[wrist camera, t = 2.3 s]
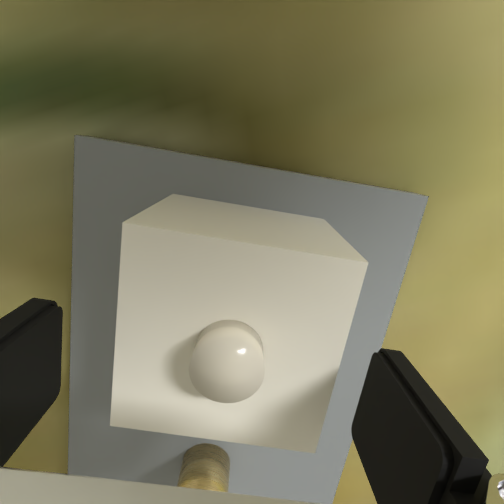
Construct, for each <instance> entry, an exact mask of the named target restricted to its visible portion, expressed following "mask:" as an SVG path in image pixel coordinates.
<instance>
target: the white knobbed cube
mask: <svg viewBox="0 0 504 504" xmlns="http://www.w3.org/2000/svg"><path fill="white" fill-rule="evenodd" d="M368 263H369V262H368V261H367V260H365V259H364V258H363V257H362V256H361V255H360V254H359V253H358V252H357V251H356V250H355V249H354V248H353V247H352V246H351V245H350V244H349V243H348V242H347V241H346V240H345V239H344V238H343V237H342V236H341V235H340V234H339V233H338V232H337V231H336V230H335V229H334V228H333V227H332V226H331V225H330V224H329V223H328V222H327V221H326V220H324V219H321V218H315V217H309V216H303V215H297V214H291V213H285V212H279V211H273V210H267V209H261V208H255V207H249V206H244V205H238V204H232V203H226V202H220V201H214V200H208V199H202V198H196V197H190V196H184V195H178V194H172V195H170V196H168V197H166V198H165V199H163V200H161V201H159V202H158V203H156V204H154V205H152V206H151V207H149V208H147V209H145V210H143V211H142V212H140V213H138V214H136V215H135V216H133V217H131V218H129V219H128V220H126V221H124V222H122V238H121V254H120V271H119V287H118V303H117V319H116V335H115V351H114V367H113V383H112V399H111V415H110V426H115V427H122V428H130V429H137V430H144V431H152V432H159V433H167V434H174V435H181V436H189V437H196V438H204V439H211V440H219V441H226V442H233V443H241V444H248V445H256V446H263V447H270V448H278V449H285V450H293V451H300V452H307V453H315V452H316V448H317V445H318V441H319V438H320V434H321V431H322V427H323V423H324V420H325V416H326V413H327V409H328V406H329V402H330V398H331V395H332V391H333V388H334V384H335V381H336V377H337V373H338V370H339V366H340V363H341V359H342V356H343V352H344V349H345V345H346V341H347V338H348V334H349V331H350V327H351V324H352V320H353V316H354V313H355V309H356V306H357V302H358V299H359V295H360V291H361V288H362V284H363V281H364V277H365V274H366V270H367V266H368Z"/></svg>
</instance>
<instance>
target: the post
mask: <svg viewBox="0 0 504 504" xmlns="http://www.w3.org/2000/svg"><path fill="white" fill-rule="evenodd" d="M229 473H230V458H229V456H228V454H227V453H226V451H225V450H224V449H222V448H221V447H219V446H217V445H214V444H208V443H203V444H197V445H195V446H193V447H191V448H189V449H188V450H187V451H186V453H185V454H184V457H183V461H182V466H181V470H180V475H179V479H178V484H177V487H186V488H194V489H203V490H212V491H220V492H228V488H229Z"/></svg>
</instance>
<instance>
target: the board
mask: <svg viewBox="0 0 504 504" xmlns="http://www.w3.org/2000/svg"><path fill="white" fill-rule="evenodd" d="M172 194H178V195H184V196H190V197H196V198H202V199H208V200H214V201H220V202H226V203H232V204H238V205H244V206H249V207H255V208H261V209H267V210H273V211H279V212H285V213H291V214H297V215H303V216H309V217H315V218H321V219H324V220H326V221H327V222H328V223H329V224H330V225H331V226H332V227H333V228H334V229H335V230H336V231H337V232H338V233H339V234H340V235H341V236H342V237H343V238H344V239H345V240H346V241H347V242H348V243H349V244H350V245H351V246H352V247H353V248H354V249H355V250H356V251H357V252H358V253H359V254H360V255H361V256H362V257H363V258H364V259H365V260H367V261H368V262H369V263H368V266H367V270H366V274H365V277H364V281H363V284H362V288H361V291H360V295H359V299H358V302H357V306H356V309H355V313H354V316H353V320H352V324H351V327H350V331H349V334H348V338H347V341H346V345H345V349H344V352H343V356H342V359H341V363H340V366H339V370H338V373H337V377H336V381H335V384H334V388H333V391H332V395H331V398H330V402H329V406H328V409H327V413H326V416H325V420H324V423H323V427H322V431H321V434H320V438H319V441H318V445H317V448H316V452H315V453H307V452H300V451H293V450H285V449H278V448H270V447H263V446H256V445H248V444H241V443H233V442H226V441H219V440H211V439H204V438H196V437H189V436H181V435H174V434H167V433H159V432H152V431H144V430H137V429H130V428H122V427H115V426H110V415H111V399H112V383H113V367H114V351H115V335H116V319H117V303H118V287H119V271H120V254H121V238H122V222H124V221H126V220H128V219H129V218H131V217H133V216H135V215H136V214H138V213H140V212H142V211H143V210H145V209H147V208H149V207H151V206H152V205H154V204H156V203H158V202H159V201H161V200H163V199H165V198H166V197H168V196H170V195H172ZM428 197H429V196H425V195H421V194H417V193H412V192H407V191H401V190H395V189H389V188H384V187H378V186H372V185H367V184H361V183H355V182H349V181H344V180H338V179H332V178H326V177H321V176H315V175H309V174H303V173H298V172H292V171H286V170H280V169H275V168H269V167H263V166H257V165H252V164H246V163H240V162H235V161H229V160H223V159H217V158H212V157H206V156H200V155H194V154H189V153H183V152H177V151H171V150H166V149H160V148H154V147H148V146H143V145H137V144H131V143H125V142H120V141H114V140H108V139H102V138H97V137H91V136H82V135H75V139H74V189H73V239H72V289H71V339H70V389H69V439H68V474H72V475H81V476H90V477H98V478H107V479H116V480H125V481H133V482H142V483H151V484H160V485H168V486H177V484H178V479H179V475H180V470H181V466H182V461H183V457H184V454H185V453H186V451H187V450H188V449H189V448H191V447H193V446H195V445H197V444H203V443H208V444H214V445H217V446H219V447H221V448H222V449H224V450H225V451H226V453H227V454H228V456H229V458H230V473H229V488H228V492H229V493H237V494H246V495H254V496H263V497H271V498H280V499H288V500H297V501H305V502H314V503H322V504H332V502H333V499H334V496H335V493H336V490H337V486H338V483H339V480H340V477H341V474H342V471H343V467H344V464H345V461H346V458H347V455H348V451H349V448H350V445H351V442H352V439H353V438H352V433H351V428H352V422H353V419H354V415H355V412H356V409H357V405H358V402H359V398H360V395H361V391H362V388H363V385H364V381H365V378H366V374H367V371H368V367H369V364H370V361H371V357H372V355H373V353H375V352H377V353H378V351H379V350H380V349H381V347H382V344H383V340H384V337H385V334H386V331H387V328H388V324H389V321H390V318H391V315H392V312H393V309H394V305H395V302H396V299H397V296H398V293H399V290H400V286H401V283H402V280H403V277H404V274H405V270H406V267H407V264H408V261H409V258H410V255H411V251H412V248H413V245H414V242H415V239H416V236H417V232H418V229H419V226H420V223H421V220H422V216H423V213H424V210H425V207H426V204H427V201H428Z"/></svg>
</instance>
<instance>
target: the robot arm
mask: <svg viewBox="0 0 504 504" xmlns="http://www.w3.org/2000/svg"><path fill="white" fill-rule="evenodd" d="M62 317H63V311H62V308H61V307H58V306H57V303H56V302H55V301H51V300H45V299H38V298H32V299H30V300H29V301H27V302H26V303H24V304H23V305H21V306H20V307H18V308H16V309H15V310H13V311H12V312H10V313H9V314H7V315H6V316H4V317H3V318H1V319H0V504H322V503H314V502H305V501H297V500H288V499H280V498H271V497H263V496H254V495H246V494H237V493H229V492H220V491H212V490H203V489H194V488H186V487H177V486H168V485H160V484H151V483H142V482H133V481H125V480H116V479H107V478H98V477H90V476H81V475H72V474H63V473H54V472H45V471H35V470H26V469H17V468H8V467H3V466H4V464H5V463H6V462H7V461H8V459H9V458H10V457H11V456H12V454H13V453H14V452H15V450H16V449H17V448H18V447H19V445H20V444H21V443H22V442H23V440H24V439H25V438H26V437H27V435H28V434H29V433H30V431H31V430H32V429H33V428H34V426H35V425H36V424H37V423H38V421H39V420H40V419H41V418H42V416H43V415H44V414H45V412H46V411H47V410H48V409H49V407H50V406H51V405H52V404H53V402H54V401H55V400H56V398H57V396H58V394H59V391H60V386H61V352H62ZM351 433H352V438H353V441H354V443H355V446H356V449H357V451H358V454H359V456H360V459H361V462H362V464H363V467H364V470H365V472H366V475H367V478H368V480H369V483H370V485H371V488H372V491H373V493H374V496H375V499H376V501H377V504H504V474H499V473H498V474H495V475H493V476H492V475H491V474H490V473H489V471H488V470H487V469H486V466H487V463H488V461H489V460H488V458H487V457H486V456H485V455H484V453H483V452H482V451H481V450H480V448H479V447H478V446H477V445H476V443H475V442H474V441H473V440H472V439H471V437H470V436H469V435H468V434H467V432H466V431H465V430H464V429H463V427H462V426H461V425H460V424H459V422H458V421H457V420H456V419H455V417H454V416H453V415H452V414H451V412H450V411H449V410H448V409H447V407H446V406H445V405H444V404H443V403H442V401H441V400H440V399H439V398H438V396H437V395H436V394H435V393H434V391H433V390H432V389H431V388H430V386H429V385H428V384H427V383H426V381H425V380H424V379H423V378H422V376H421V375H420V374H419V373H418V371H417V370H416V369H415V368H414V366H413V365H412V364H411V363H410V362H409V360H408V359H407V358H406V357H405V355H404V354H403V353H402V352H401V351H396V350H389V349H383V348H381V349H380V350H379V351H378V353H377V352H375V353H373V355H372V357H371V361H370V364H369V367H368V371H367V374H366V378H365V381H364V385H363V388H362V391H361V395H360V398H359V402H358V405H357V409H356V412H355V415H354V419H353V422H352V428H351Z"/></svg>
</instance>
